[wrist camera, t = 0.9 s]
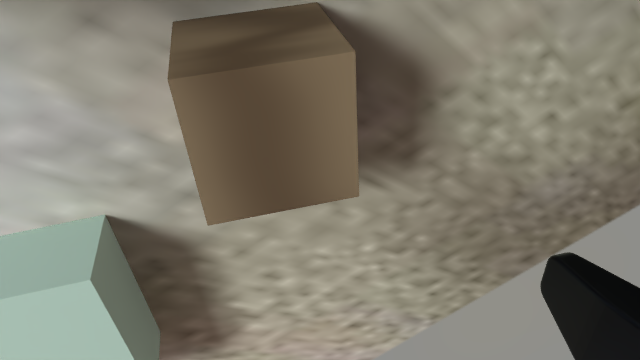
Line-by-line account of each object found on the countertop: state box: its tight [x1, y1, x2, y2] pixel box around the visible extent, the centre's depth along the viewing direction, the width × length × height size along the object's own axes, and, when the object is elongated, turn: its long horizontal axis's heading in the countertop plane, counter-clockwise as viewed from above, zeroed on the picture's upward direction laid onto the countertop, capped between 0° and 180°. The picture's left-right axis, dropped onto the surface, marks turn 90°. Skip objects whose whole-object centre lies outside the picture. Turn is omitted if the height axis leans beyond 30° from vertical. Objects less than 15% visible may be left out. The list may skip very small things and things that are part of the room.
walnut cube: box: [168, 2, 359, 225], centre depth 16 cm, size 5×5×5 cm
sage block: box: [0, 215, 161, 360], centre depth 20 cm, size 8×8×4 cm
